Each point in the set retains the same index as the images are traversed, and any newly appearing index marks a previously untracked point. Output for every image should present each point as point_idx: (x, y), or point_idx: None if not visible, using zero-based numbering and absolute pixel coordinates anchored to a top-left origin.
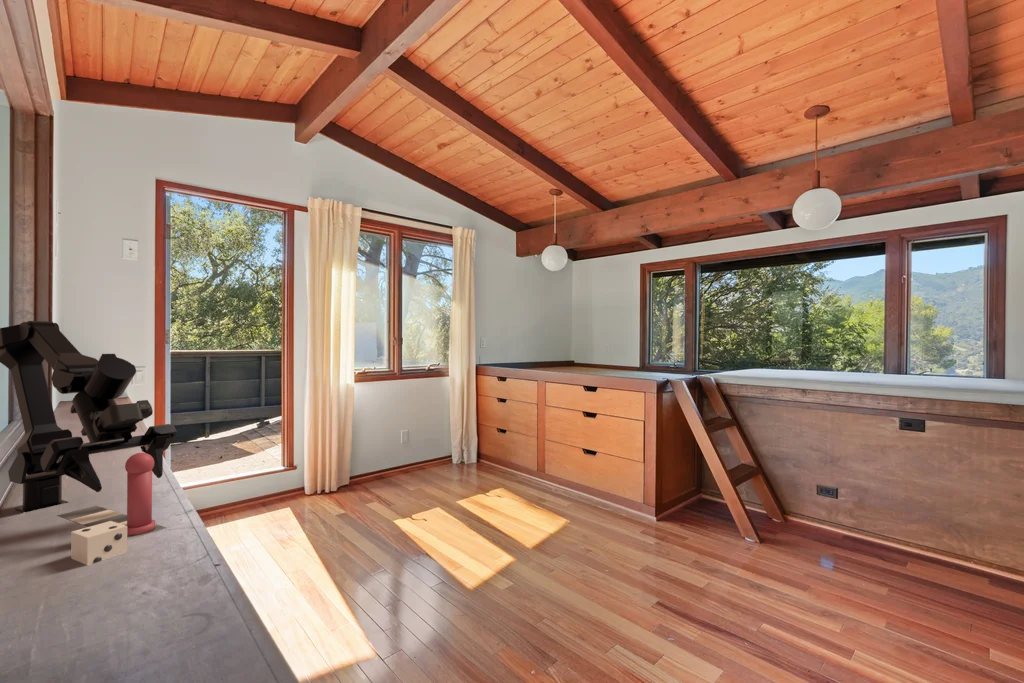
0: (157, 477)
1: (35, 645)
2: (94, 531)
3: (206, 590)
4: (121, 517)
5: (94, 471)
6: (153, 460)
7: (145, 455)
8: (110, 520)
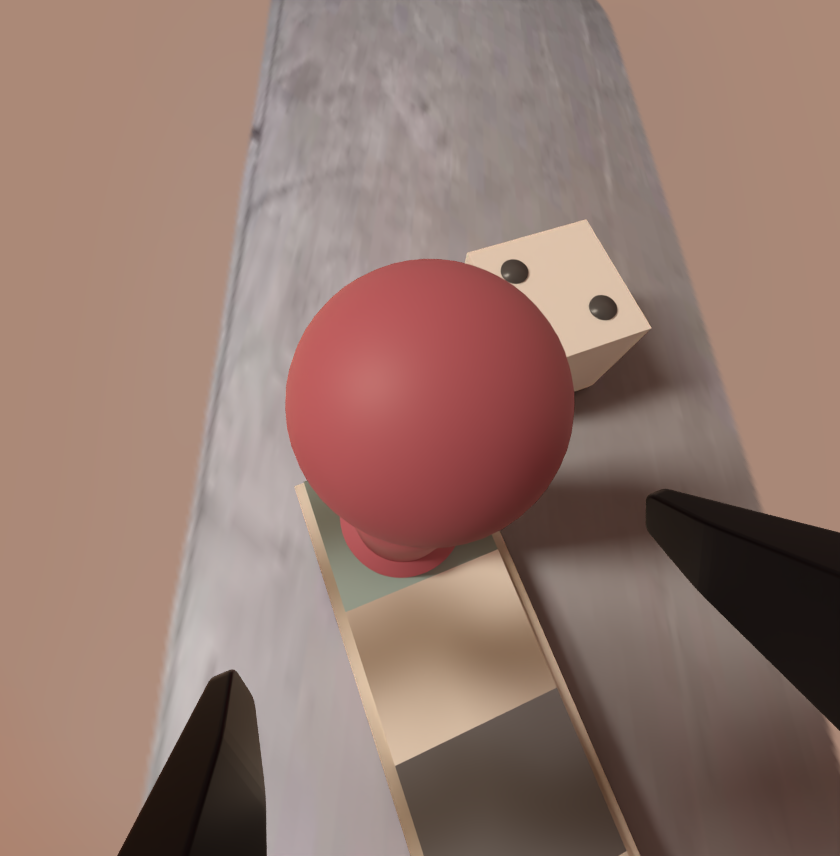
0: (255, 709)
1: (587, 48)
2: (572, 273)
3: (316, 38)
4: (459, 851)
5: (816, 559)
6: (297, 346)
7: (382, 279)
8: (508, 826)
